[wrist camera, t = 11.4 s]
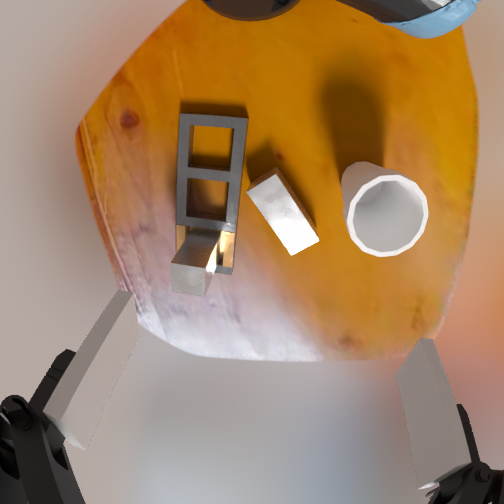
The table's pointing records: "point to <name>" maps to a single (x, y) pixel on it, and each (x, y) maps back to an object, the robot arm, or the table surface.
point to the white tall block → (196, 261)
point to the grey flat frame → (210, 173)
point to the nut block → (283, 211)
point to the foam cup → (382, 209)
